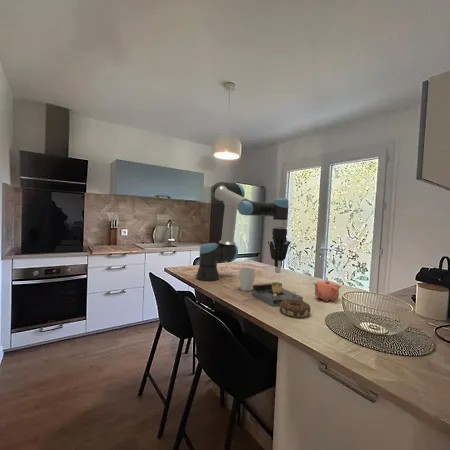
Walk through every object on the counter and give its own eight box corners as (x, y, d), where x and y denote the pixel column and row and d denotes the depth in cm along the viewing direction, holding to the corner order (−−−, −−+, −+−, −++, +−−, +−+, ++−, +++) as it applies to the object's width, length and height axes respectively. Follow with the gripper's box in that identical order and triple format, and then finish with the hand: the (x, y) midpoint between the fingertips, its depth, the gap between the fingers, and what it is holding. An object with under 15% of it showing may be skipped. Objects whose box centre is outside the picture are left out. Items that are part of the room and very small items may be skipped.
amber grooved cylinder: (269, 297, 142) (270, 283, 141) (277, 297, 144) (278, 282, 144) (274, 300, 137) (275, 285, 137) (283, 300, 139) (283, 284, 139)
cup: (253, 292, 151) (254, 271, 150) (237, 290, 153) (238, 269, 152) (254, 288, 160) (255, 268, 159) (239, 286, 162) (240, 267, 161)
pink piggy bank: (317, 294, 153) (318, 276, 152) (340, 298, 147) (341, 280, 146) (311, 300, 141) (312, 281, 140) (335, 305, 134) (337, 285, 134)
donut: (316, 315, 119) (317, 304, 119) (295, 321, 112) (296, 309, 112) (292, 305, 131) (293, 295, 131) (272, 310, 124) (272, 299, 124)
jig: (251, 294, 146) (252, 284, 146) (279, 291, 154) (279, 282, 154) (272, 306, 128) (273, 295, 128) (302, 303, 136) (303, 292, 135)
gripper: (273, 228, 133) (271, 275, 134) (294, 228, 139) (292, 273, 140) (265, 227, 140) (263, 271, 141) (285, 227, 146) (283, 270, 146)
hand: (277, 272), depth 140 cm, fingers closed
